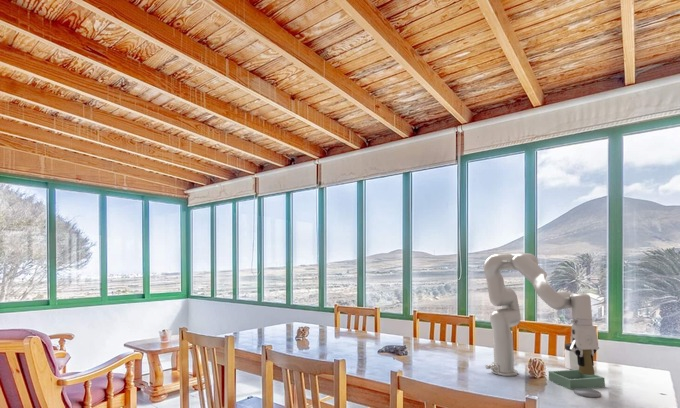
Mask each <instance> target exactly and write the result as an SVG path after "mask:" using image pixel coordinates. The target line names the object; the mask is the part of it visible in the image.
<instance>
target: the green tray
mask: <svg viewBox="0 0 680 408" xmlns="http://www.w3.org/2000/svg"><path fill="white" fill-rule="evenodd" d="M548 381H550V382H552V381H553V383H555V384H557V385H559V386H562V387H563V388H566V389H568V390H574V389H575V388H589V389H594V388H595V389H596V388H606V383H605V382H606V381H605V377H603V376H601V375H598V374H596V373H595V374H594V375H586V374H581V373H579V369H578V370H570V369H569V370H568V369H566V370H552V371H551V370H549V371H548Z"/></svg>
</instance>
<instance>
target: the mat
mask: <svg viewBox="0 0 680 408" xmlns="http://www.w3.org/2000/svg"><path fill="white" fill-rule="evenodd" d="M573 392H574V394H576V395H577V396H579V397H584V398H590V399H597V398H601V397H602V392H600V391H598V390H596V389H594V388H575V389H573Z"/></svg>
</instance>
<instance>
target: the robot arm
mask: <svg viewBox="0 0 680 408" xmlns="http://www.w3.org/2000/svg"><path fill="white" fill-rule="evenodd" d="M483 264H484V265H483V271H484V276H485V278H486V285H487V291H488V297H489V301H490V303H491V305H492V306H494V307H501V308H500V309H495V310H494V311H492V312H491V314H490V319H489V320H490V325H491V330H492V342H493V343H492V344H493V362H491V364H485V365H484V366H485V367H484V368H485V370H491V373H493V374H495V375H496V376H497V375H498V376H503V377H512V376H517V375H518V374H519V372H518V370H517V369H515V358H514V357H515V356H514V354H515V353H514V340H513V339H514V337H513V333H512V330H511V328H513V327H516V326H518V325H519V324H520V322H521V320H522V319H521V317H522V316H521V309H520V306H519V305H520V304H519V301H518V296H517V294H516V291H515V290H514V289H512V288H511V287H507V286H506V285H505V280H504V277H503V275H502V273H501V271H516V270H517V271H518V272H519V273H520V274H521V275H522V276H523V277H525V279H527V280H528V282H530V284H532V285H533V289H534V290H535V292H536V295H538V297H539V298H540V299H541V300H542V301H543V302H544V303H546V305H547V306H549V307H550V308H551V309H554V310H556V311H557V310H558V311H560V310H566V309H571V315H572V316H571V317H572V319H571V320H570V322H571V324H572V325H571V330H570V340H571V341H570V343H571V344H572V345H571V347H570V350H571V351H573V352H574V353H575V354H576V356H577V360H578V365H580V366H583V367H584V357H582V356H583V350H592V354H591V359H592V363H593V367H594V363H595V362H594V356H595V354H596V352H597V351H598V350H599V349H600V347H599V341H598V335H597V331H596V327H595V325H593V314H592V301H591V296H590V295H589V294H587V293H579V292H578V293H575V292H568V291H559V292H558V291H556V290H555V289H554V288H553V287H552V286H551V285H550V284H549V282H548V281H547V277H548V274H547V272H546V271H545V270H544V269H543V268H542V267H540V266H539V260H538V258H537V256H535V254H533V253H529V252H528V253H527V252H526V253H525V252H524V253H495V254H492V255H489V257H488V258H486V259H485V261H484V263H483ZM575 348H576V349H575ZM579 350H580V352H579Z"/></svg>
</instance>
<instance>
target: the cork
mask: <svg viewBox="0 0 680 408" xmlns="http://www.w3.org/2000/svg"><path fill="white" fill-rule="evenodd" d="M579 352H580V350H579ZM591 354H592V350H583V356H582V357H584V367H583V366H580V365H579V373H581V374H586V375H594V374H595V375H596V372H595V369H594V366H593V363H592V359H591Z"/></svg>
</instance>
